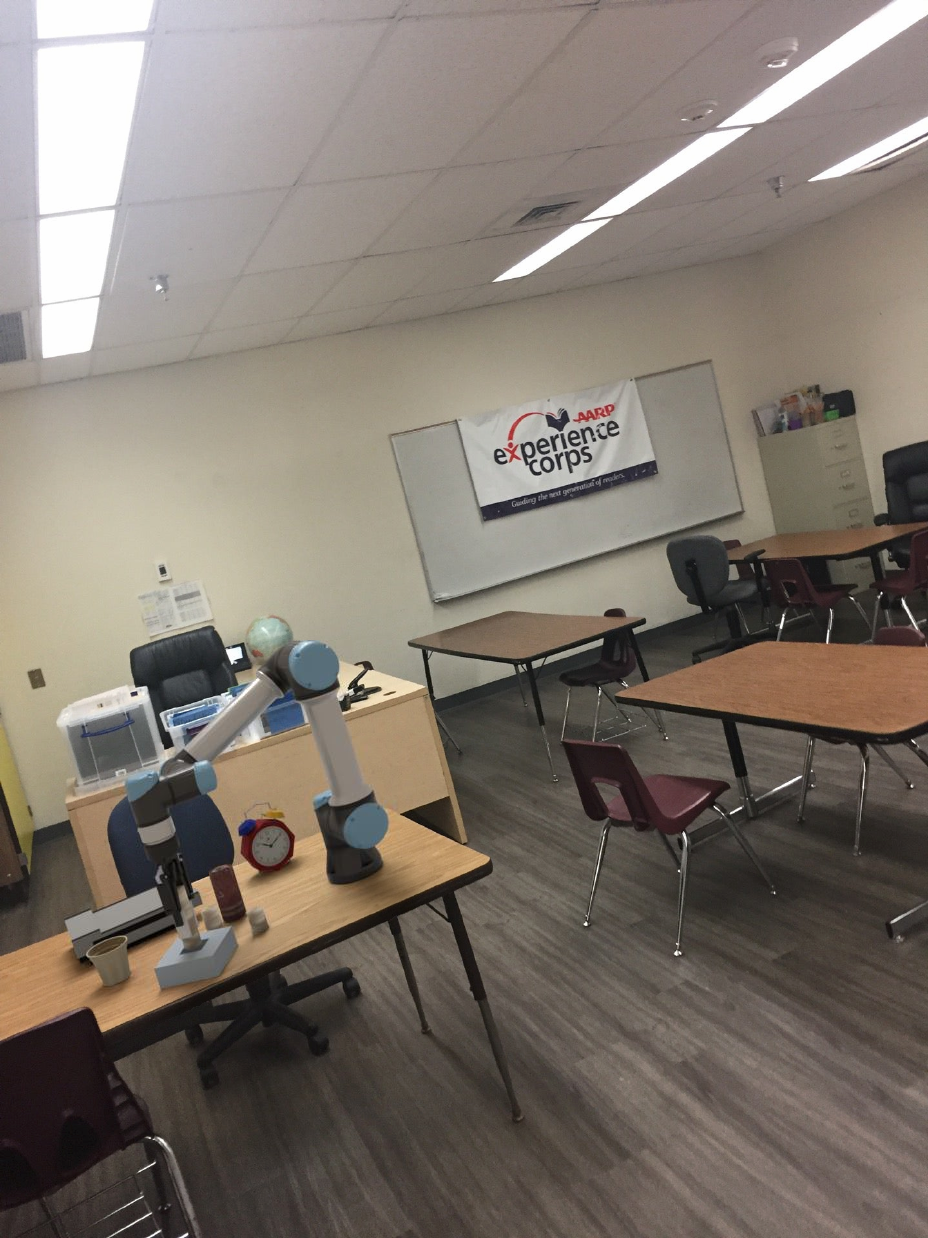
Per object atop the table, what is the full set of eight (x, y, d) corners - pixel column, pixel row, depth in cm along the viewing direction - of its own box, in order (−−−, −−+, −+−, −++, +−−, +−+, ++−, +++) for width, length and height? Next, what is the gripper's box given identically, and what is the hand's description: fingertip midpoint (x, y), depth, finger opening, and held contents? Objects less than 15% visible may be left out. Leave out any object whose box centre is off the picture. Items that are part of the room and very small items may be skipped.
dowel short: (270, 924, 227) (265, 905, 227) (265, 931, 223) (259, 912, 223) (256, 927, 228) (250, 908, 227) (250, 935, 224) (244, 916, 223)
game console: (206, 917, 244) (197, 888, 243) (82, 972, 229) (71, 942, 228) (190, 897, 262) (181, 870, 261) (73, 947, 247) (64, 919, 246)
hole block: (237, 945, 220) (231, 925, 219) (219, 976, 206) (212, 955, 205) (182, 957, 221) (176, 938, 221) (160, 989, 207) (154, 968, 207)
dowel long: (204, 939, 215) (186, 883, 213) (198, 947, 211) (180, 891, 209) (188, 942, 215) (170, 887, 213) (182, 951, 211) (163, 895, 209)
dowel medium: (228, 933, 228) (219, 903, 227) (223, 941, 224) (214, 911, 223) (213, 937, 229) (204, 907, 228) (208, 944, 225) (198, 914, 224)
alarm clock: (255, 881, 259) (234, 815, 257) (244, 875, 267) (224, 811, 264) (302, 859, 267) (283, 795, 264) (291, 854, 274) (272, 791, 272)
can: (241, 921, 234) (225, 870, 232) (219, 925, 235) (203, 874, 233) (251, 909, 239) (236, 860, 238) (229, 913, 241) (214, 864, 239)
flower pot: (104, 975, 223) (93, 942, 222) (142, 964, 224) (131, 931, 222) (91, 995, 214) (80, 961, 213) (131, 983, 214) (120, 949, 213)
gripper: (158, 828, 218) (187, 919, 221) (128, 857, 202) (160, 954, 205) (188, 821, 218) (216, 912, 221) (160, 849, 201) (191, 947, 204)
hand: (189, 932), depth 213 cm, fingers closed on dowel long, 4 cm apart
